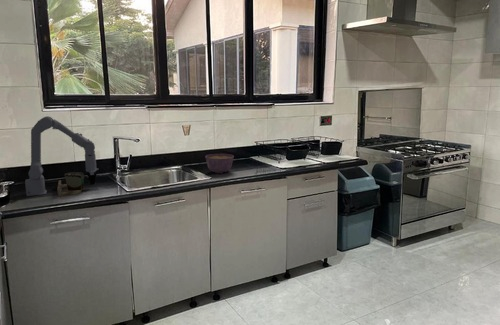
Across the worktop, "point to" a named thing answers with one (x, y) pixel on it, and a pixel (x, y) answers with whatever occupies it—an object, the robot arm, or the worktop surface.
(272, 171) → the worktop surface
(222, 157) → the bowl of food
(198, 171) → the worktop surface
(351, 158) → the worktop surface
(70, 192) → the tan piece
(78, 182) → the food container
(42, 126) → the robot arm
